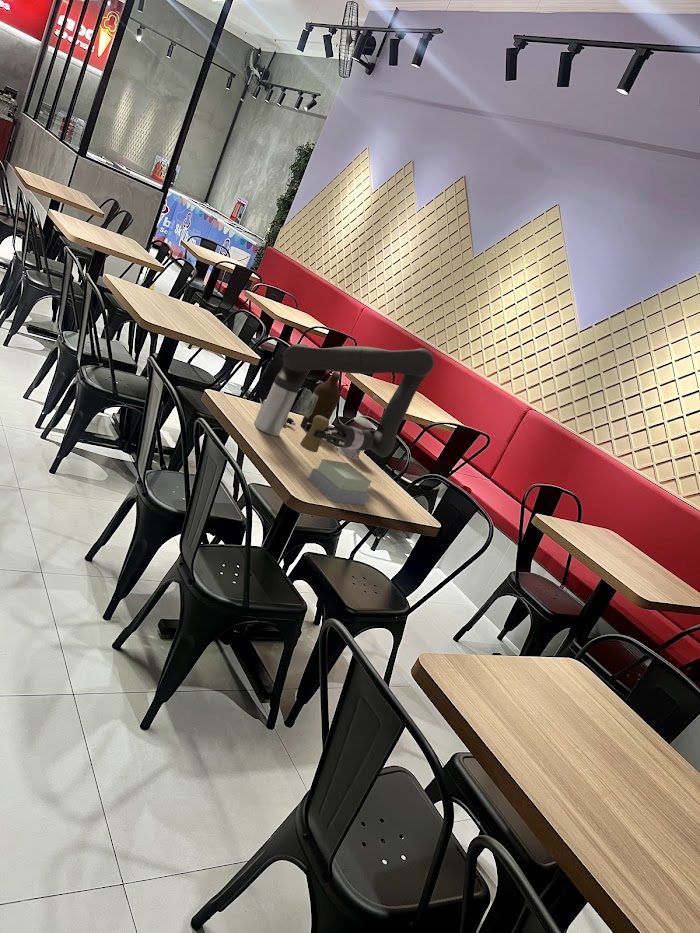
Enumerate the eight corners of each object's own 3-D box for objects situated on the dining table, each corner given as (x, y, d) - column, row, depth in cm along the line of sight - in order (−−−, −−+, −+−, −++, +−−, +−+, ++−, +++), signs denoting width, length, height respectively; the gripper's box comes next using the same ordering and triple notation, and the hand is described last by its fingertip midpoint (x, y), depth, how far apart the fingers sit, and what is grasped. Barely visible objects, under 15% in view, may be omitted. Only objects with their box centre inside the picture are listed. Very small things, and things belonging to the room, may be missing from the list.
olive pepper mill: (309, 443, 226) (323, 414, 223) (320, 453, 223) (335, 423, 220) (296, 441, 222) (310, 411, 219) (307, 451, 218) (322, 420, 215)
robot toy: (294, 432, 268) (282, 414, 279) (299, 422, 266) (286, 404, 278) (266, 424, 261) (255, 406, 272) (271, 413, 259) (260, 396, 271)
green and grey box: (307, 479, 220) (318, 457, 218) (338, 483, 230) (348, 462, 228) (334, 502, 211) (345, 479, 209) (364, 505, 221) (375, 483, 219)
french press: (349, 449, 276) (376, 392, 269) (367, 463, 269) (395, 405, 262) (332, 446, 269) (359, 388, 262) (350, 460, 262) (379, 401, 255)
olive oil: (320, 429, 284) (345, 374, 278) (325, 438, 275) (352, 381, 268) (296, 420, 280) (322, 364, 274) (301, 429, 271) (327, 371, 264)
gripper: (339, 417, 234) (302, 408, 222) (365, 437, 225) (328, 429, 213) (329, 436, 236) (292, 429, 224) (355, 457, 228) (318, 451, 215)
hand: (310, 429), depth 218 cm, fingers closed on olive pepper mill, 4 cm apart
